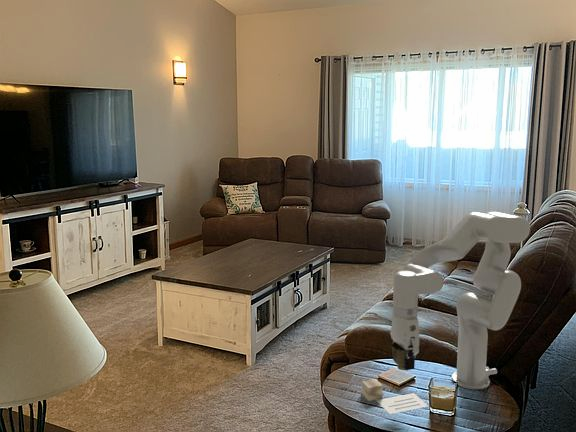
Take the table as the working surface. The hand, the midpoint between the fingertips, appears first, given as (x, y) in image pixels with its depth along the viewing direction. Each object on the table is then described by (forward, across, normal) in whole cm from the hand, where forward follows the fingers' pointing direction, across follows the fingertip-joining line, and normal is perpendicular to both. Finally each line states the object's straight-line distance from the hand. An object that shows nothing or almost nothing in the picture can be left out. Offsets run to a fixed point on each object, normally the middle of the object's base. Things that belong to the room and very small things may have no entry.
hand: (403, 363), depth 183 cm
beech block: (+14, +8, +7) cm, 17 cm away
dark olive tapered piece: (+2, 0, 0) cm, 2 cm away
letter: (+14, 0, 0) cm, 14 cm away
